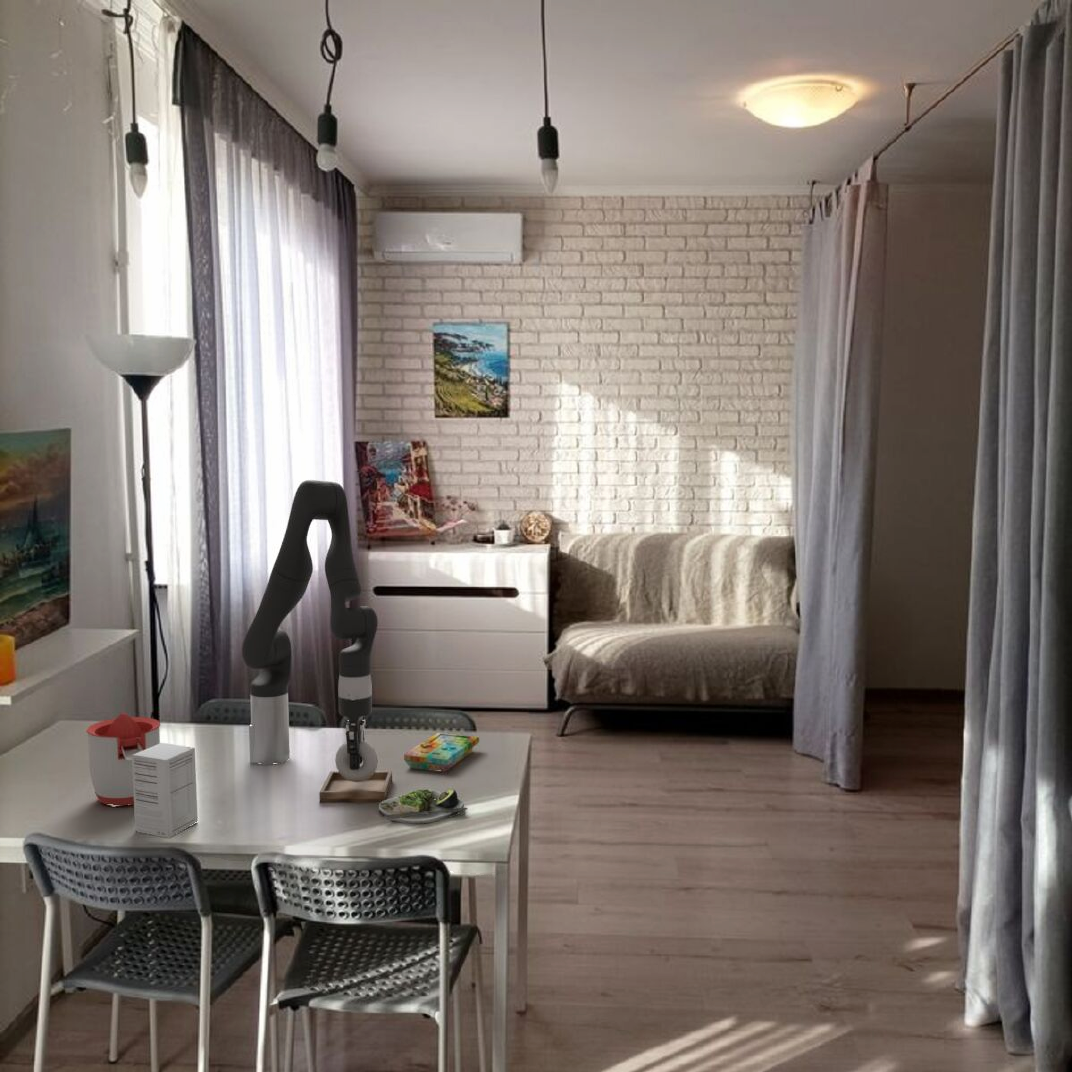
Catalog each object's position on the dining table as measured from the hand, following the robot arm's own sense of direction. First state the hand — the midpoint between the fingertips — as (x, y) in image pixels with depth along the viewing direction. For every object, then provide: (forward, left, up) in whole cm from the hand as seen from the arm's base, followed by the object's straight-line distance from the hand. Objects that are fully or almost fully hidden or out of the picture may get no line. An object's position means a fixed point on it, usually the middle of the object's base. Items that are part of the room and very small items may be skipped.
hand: (356, 765), depth 263 cm
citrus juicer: (-51, -5, -6) cm, 52 cm away
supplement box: (-37, -22, -6) cm, 43 cm away
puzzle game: (+18, +24, -7) cm, 31 cm away
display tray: (0, 0, -6) cm, 6 cm away
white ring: (0, 0, -4) cm, 4 cm away
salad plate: (+17, -12, -7) cm, 22 cm away
